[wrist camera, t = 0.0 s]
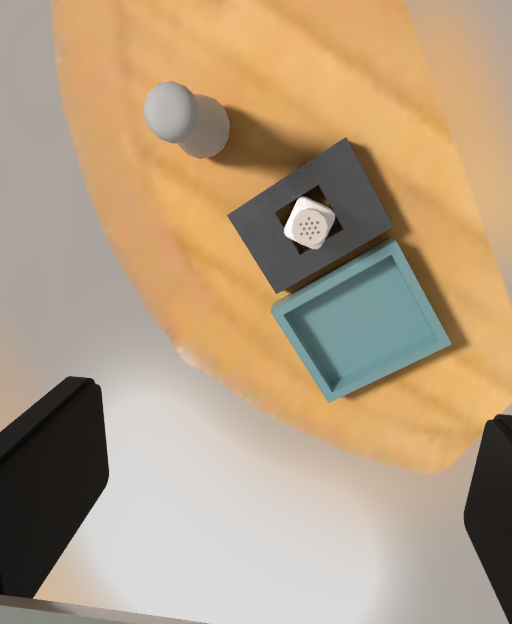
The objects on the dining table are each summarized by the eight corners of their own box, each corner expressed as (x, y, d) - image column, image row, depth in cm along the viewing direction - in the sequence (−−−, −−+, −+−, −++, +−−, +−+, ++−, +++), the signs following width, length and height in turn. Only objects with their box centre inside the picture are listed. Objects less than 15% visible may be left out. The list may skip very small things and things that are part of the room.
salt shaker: (171, 113, 43) (117, 85, 30) (221, 90, 41) (185, 52, 29) (193, 168, 44) (150, 163, 32) (242, 147, 43) (216, 134, 31)
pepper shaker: (333, 209, 44) (341, 216, 35) (317, 243, 45) (319, 258, 36) (300, 193, 44) (298, 196, 35) (284, 227, 45) (279, 239, 36)
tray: (272, 304, 48) (270, 311, 45) (390, 237, 44) (396, 240, 41) (327, 390, 50) (328, 402, 48) (442, 334, 47) (451, 344, 44)
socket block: (231, 213, 45) (227, 215, 43) (343, 139, 42) (346, 137, 39) (277, 288, 47) (276, 294, 45) (389, 224, 44) (393, 226, 41)
